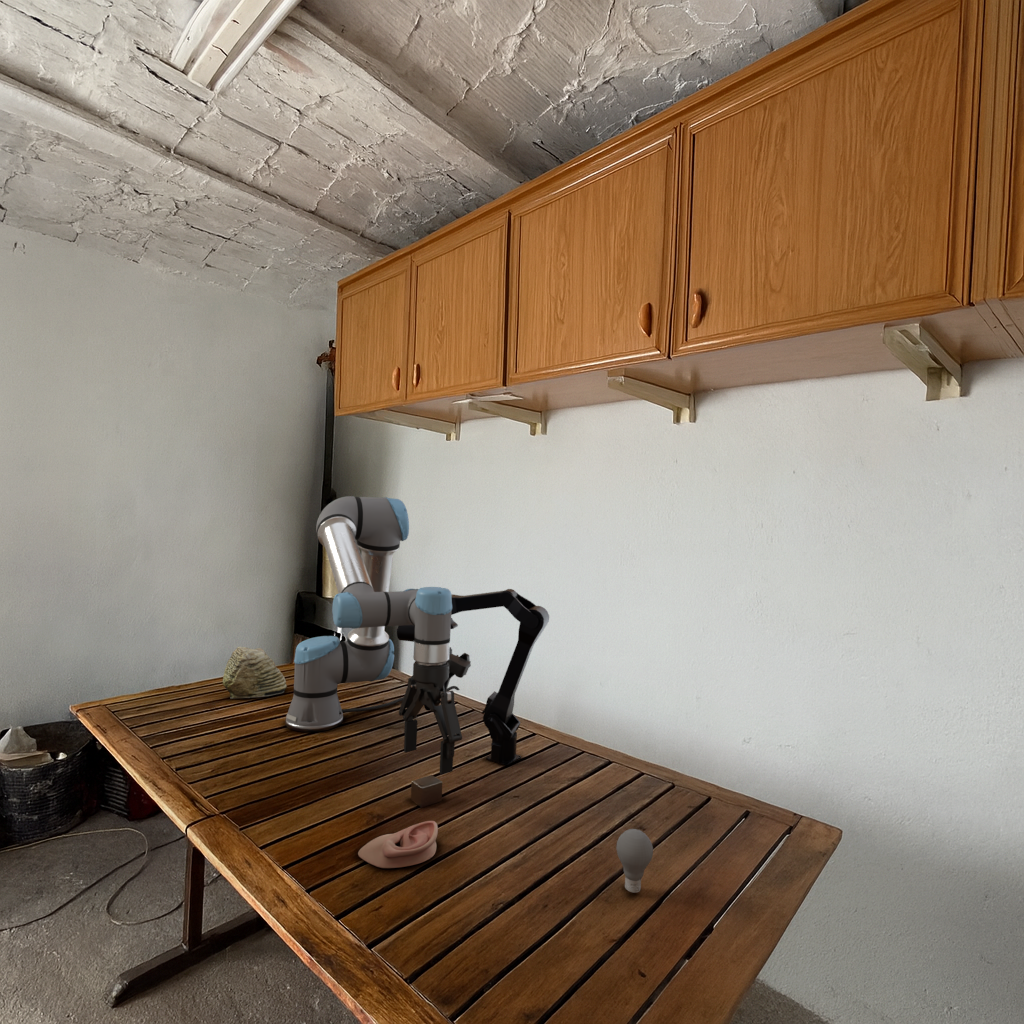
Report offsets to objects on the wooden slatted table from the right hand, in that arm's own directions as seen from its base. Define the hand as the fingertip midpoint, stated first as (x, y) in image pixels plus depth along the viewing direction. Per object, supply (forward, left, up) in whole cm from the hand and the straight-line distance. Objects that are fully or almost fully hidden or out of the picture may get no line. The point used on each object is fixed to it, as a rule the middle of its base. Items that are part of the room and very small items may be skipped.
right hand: (435, 704), depth 162 cm
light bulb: (+23, +66, -11) cm, 70 cm away
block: (+22, +18, -11) cm, 30 cm away
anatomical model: (+40, +27, -11) cm, 49 cm away
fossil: (+5, -70, -11) cm, 71 cm away
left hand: (+22, +18, -3) cm, 28 cm away
